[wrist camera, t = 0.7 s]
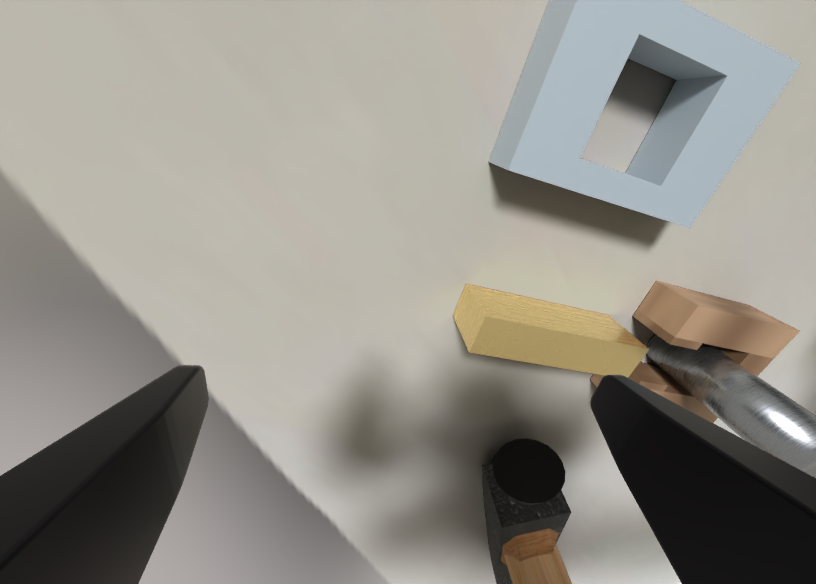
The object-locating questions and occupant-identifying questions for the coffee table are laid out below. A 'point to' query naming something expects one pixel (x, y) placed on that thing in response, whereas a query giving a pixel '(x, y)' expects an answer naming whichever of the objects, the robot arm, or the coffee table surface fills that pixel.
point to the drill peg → (742, 401)
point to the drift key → (545, 333)
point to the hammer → (525, 513)
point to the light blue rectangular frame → (677, 119)
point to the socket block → (705, 336)
